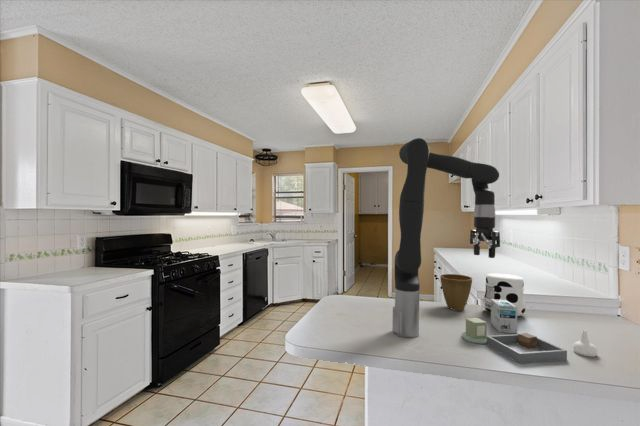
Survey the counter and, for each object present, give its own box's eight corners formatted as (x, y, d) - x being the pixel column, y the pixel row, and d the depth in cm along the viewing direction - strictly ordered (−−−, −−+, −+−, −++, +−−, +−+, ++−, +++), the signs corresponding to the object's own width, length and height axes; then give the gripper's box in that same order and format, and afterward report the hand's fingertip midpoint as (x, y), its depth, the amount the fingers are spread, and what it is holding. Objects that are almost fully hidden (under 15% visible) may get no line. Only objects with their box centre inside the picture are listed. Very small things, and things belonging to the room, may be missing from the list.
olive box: (465, 334, 118) (465, 318, 118) (477, 333, 119) (477, 317, 119) (474, 339, 113) (475, 323, 113) (486, 338, 114) (486, 322, 114)
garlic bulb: (597, 355, 105) (597, 331, 105) (597, 359, 100) (597, 334, 101) (573, 349, 109) (573, 326, 110) (572, 353, 104) (573, 329, 105)
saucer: (473, 344, 110) (473, 342, 110) (456, 334, 120) (456, 332, 120) (497, 343, 112) (497, 341, 112) (479, 333, 121) (479, 331, 121)
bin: (519, 363, 96) (519, 353, 96) (486, 344, 111) (486, 335, 111) (566, 359, 99) (566, 350, 99) (528, 341, 114) (528, 333, 114)
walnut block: (528, 349, 107) (528, 337, 107) (518, 344, 111) (518, 333, 111) (536, 348, 109) (537, 336, 109) (526, 343, 112) (526, 332, 112)
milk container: (528, 314, 148) (528, 276, 148) (522, 323, 135) (522, 281, 135) (488, 306, 159) (488, 271, 159) (479, 314, 146) (479, 276, 146)
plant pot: (437, 303, 163) (437, 273, 163) (467, 305, 160) (467, 274, 160) (442, 311, 149) (443, 278, 149) (475, 314, 146) (476, 280, 146)
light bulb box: (517, 334, 121) (518, 306, 122) (499, 332, 123) (499, 305, 123) (507, 324, 132) (507, 299, 132) (490, 323, 133) (490, 298, 133)
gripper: (464, 216, 130) (464, 254, 130) (488, 216, 116) (488, 258, 116) (480, 216, 132) (480, 254, 132) (506, 216, 118) (505, 258, 118)
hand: (484, 256), depth 124 cm, fingers open, 8 cm apart
